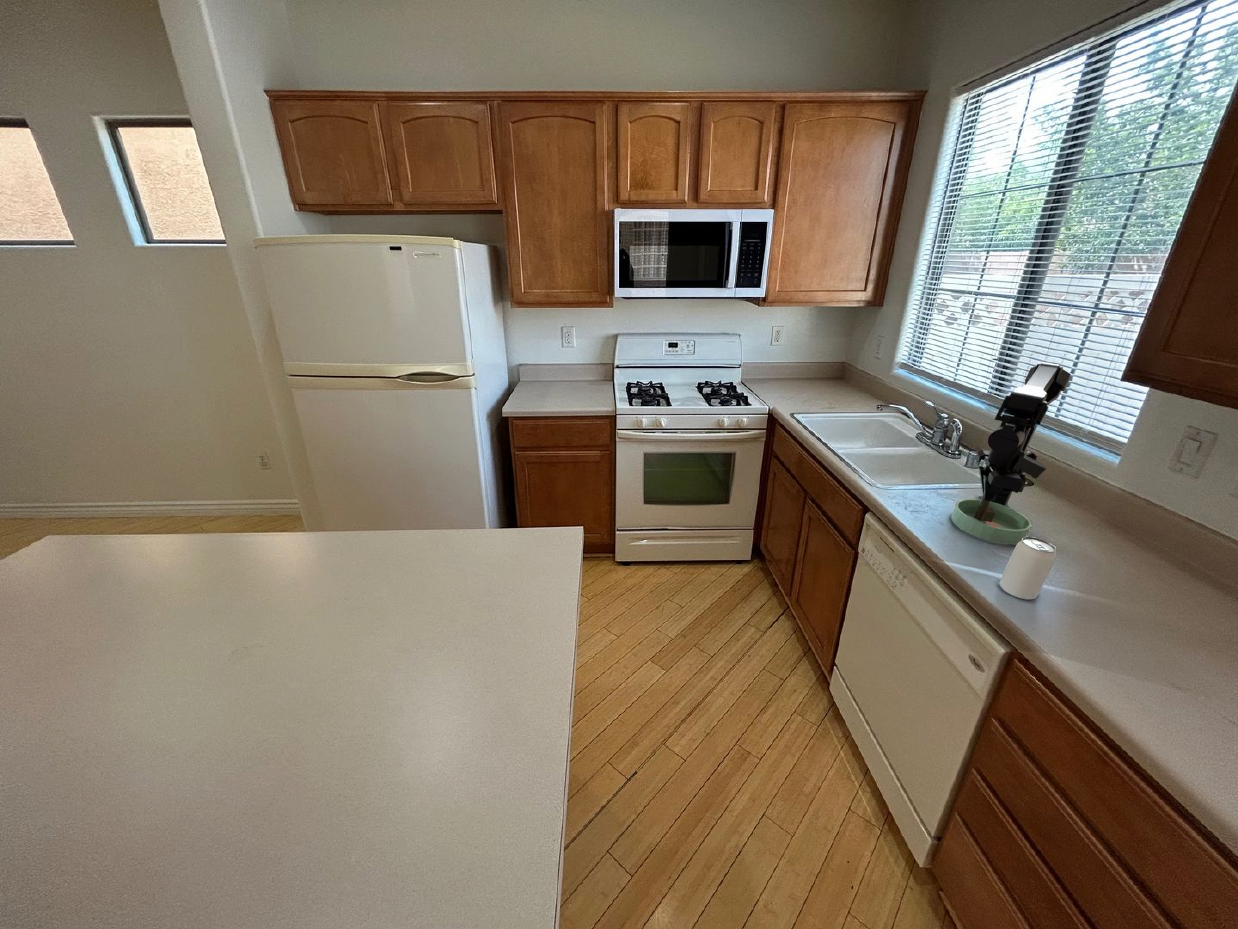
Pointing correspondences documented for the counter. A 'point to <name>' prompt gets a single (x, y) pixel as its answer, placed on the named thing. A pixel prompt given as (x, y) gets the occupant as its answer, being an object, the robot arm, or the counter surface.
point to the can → (1028, 568)
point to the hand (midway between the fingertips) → (986, 498)
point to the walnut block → (989, 515)
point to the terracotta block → (992, 524)
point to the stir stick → (982, 508)
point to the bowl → (1008, 519)
